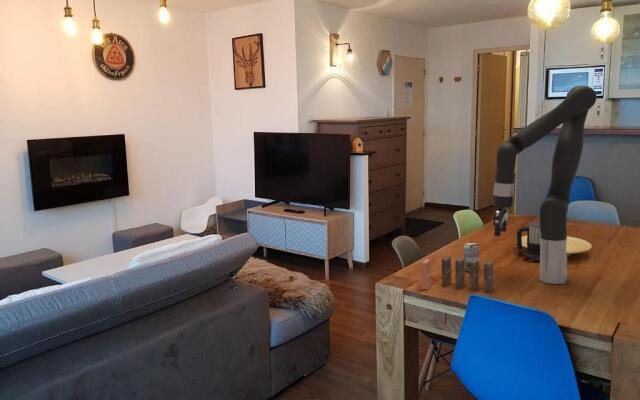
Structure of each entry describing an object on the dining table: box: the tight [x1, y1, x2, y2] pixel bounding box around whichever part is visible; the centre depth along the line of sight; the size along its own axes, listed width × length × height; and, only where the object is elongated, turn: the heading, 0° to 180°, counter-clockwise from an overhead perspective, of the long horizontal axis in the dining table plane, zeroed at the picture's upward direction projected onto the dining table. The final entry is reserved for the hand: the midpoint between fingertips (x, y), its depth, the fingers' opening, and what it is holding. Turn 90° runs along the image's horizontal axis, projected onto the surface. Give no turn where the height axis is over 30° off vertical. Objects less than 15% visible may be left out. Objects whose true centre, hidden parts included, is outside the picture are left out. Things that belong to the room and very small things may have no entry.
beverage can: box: [463, 242, 480, 272], centre depth 217 cm, size 6×7×12 cm
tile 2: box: [469, 258, 480, 292], centre depth 196 cm, size 2×5×11 cm, turn 146°
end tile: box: [420, 258, 432, 291], centre depth 199 cm, size 2×5×11 cm, turn 146°
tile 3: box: [454, 256, 466, 289], centre depth 199 cm, size 2×5×11 cm, turn 146°
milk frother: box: [516, 221, 541, 262], centre depth 230 cm, size 14×16×15 cm
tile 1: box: [483, 260, 494, 294], centre depth 193 cm, size 2×5×11 cm, turn 146°
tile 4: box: [441, 255, 452, 287], centre depth 202 cm, size 2×5×11 cm, turn 146°
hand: (500, 233), depth 203 cm, fingers open, 8 cm apart
